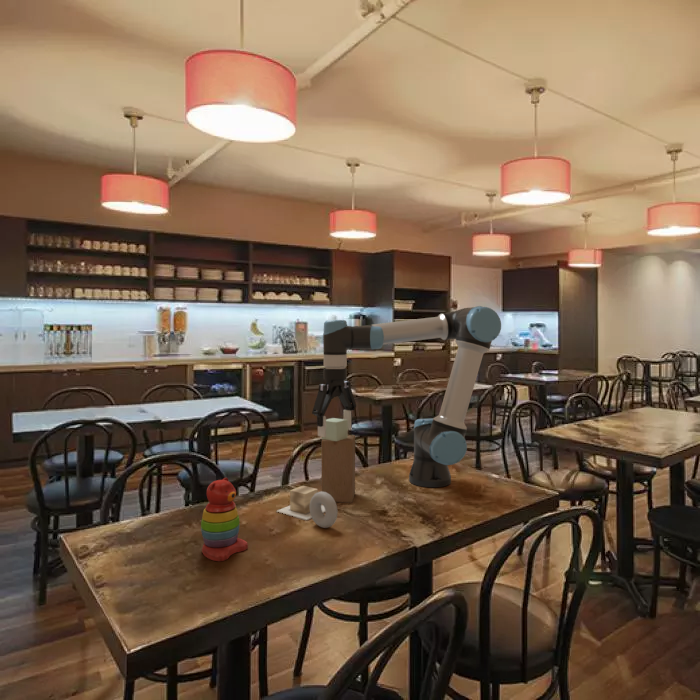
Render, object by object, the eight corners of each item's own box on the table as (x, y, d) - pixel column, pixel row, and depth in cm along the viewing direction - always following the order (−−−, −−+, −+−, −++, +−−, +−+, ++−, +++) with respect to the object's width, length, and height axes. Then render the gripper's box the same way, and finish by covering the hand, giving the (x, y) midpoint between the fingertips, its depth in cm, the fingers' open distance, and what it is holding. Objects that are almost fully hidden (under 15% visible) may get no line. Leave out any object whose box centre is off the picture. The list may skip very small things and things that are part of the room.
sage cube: (347, 438, 170) (347, 419, 170) (336, 441, 165) (336, 422, 165) (332, 435, 174) (332, 417, 174) (321, 438, 169) (321, 420, 169)
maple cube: (317, 508, 160) (317, 489, 160) (305, 514, 155) (304, 494, 155) (303, 504, 164) (303, 485, 164) (290, 509, 159) (290, 490, 159)
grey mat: (332, 509, 161) (332, 507, 161) (306, 520, 151) (306, 519, 151) (302, 501, 168) (302, 500, 168) (276, 512, 158) (276, 510, 158)
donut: (340, 530, 144) (340, 494, 144) (331, 533, 142) (331, 497, 141) (315, 520, 151) (315, 486, 151) (306, 524, 149) (306, 489, 148)
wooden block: (352, 503, 166) (352, 441, 166) (321, 502, 167) (321, 440, 167) (355, 493, 176) (355, 434, 176) (325, 492, 177) (325, 434, 177)
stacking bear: (220, 563, 124) (219, 489, 123) (190, 553, 129) (190, 482, 128) (251, 547, 133) (251, 478, 132) (223, 538, 138) (222, 472, 137)
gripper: (348, 365, 181) (348, 425, 182) (300, 369, 161) (300, 437, 162) (366, 366, 177) (366, 428, 177) (319, 370, 156) (319, 441, 157)
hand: (335, 433), depth 170 cm, fingers open, 13 cm apart
